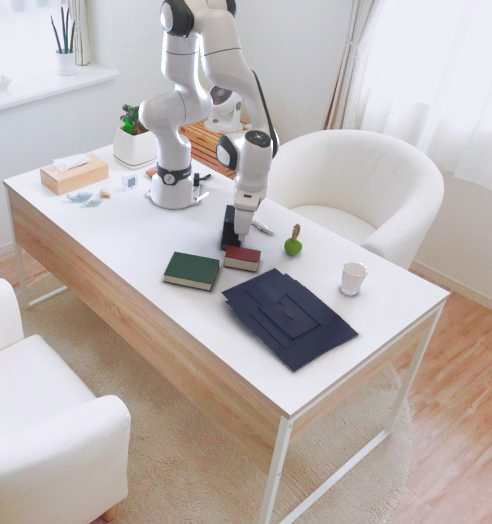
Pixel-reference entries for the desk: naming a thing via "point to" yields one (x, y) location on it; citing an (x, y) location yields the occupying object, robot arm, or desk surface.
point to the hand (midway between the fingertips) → (244, 230)
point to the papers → (288, 317)
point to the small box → (229, 229)
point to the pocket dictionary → (242, 258)
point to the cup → (352, 277)
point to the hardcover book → (192, 271)
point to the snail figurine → (293, 242)
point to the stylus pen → (262, 226)
